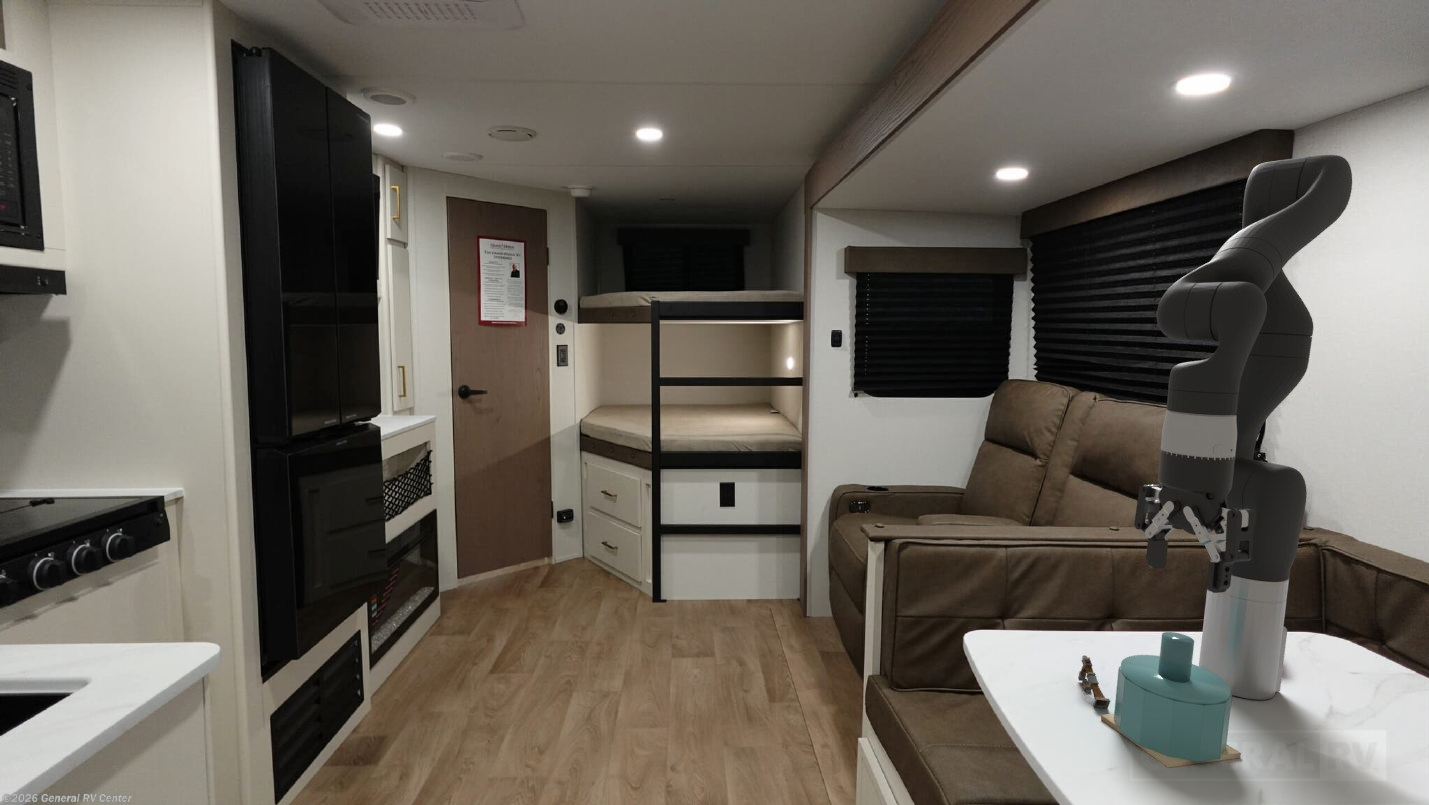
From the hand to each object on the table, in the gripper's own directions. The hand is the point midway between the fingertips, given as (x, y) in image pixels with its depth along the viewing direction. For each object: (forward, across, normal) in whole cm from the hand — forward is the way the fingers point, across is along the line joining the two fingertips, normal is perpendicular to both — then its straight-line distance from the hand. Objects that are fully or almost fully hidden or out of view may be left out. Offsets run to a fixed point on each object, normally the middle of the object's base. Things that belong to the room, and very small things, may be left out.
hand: (1185, 579), depth 89 cm
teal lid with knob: (+20, 0, 0) cm, 20 cm away
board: (+21, 0, 0) cm, 21 cm away
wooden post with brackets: (+21, +11, +2) cm, 24 cm away
